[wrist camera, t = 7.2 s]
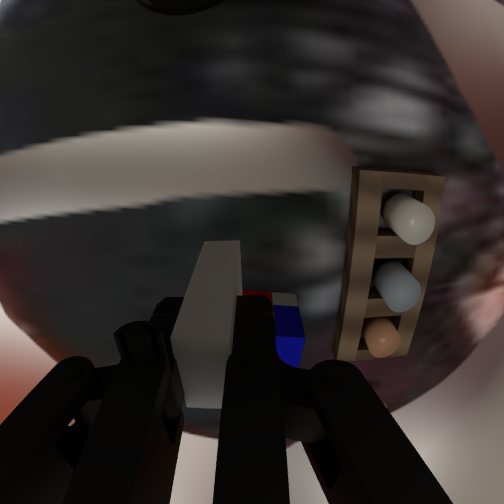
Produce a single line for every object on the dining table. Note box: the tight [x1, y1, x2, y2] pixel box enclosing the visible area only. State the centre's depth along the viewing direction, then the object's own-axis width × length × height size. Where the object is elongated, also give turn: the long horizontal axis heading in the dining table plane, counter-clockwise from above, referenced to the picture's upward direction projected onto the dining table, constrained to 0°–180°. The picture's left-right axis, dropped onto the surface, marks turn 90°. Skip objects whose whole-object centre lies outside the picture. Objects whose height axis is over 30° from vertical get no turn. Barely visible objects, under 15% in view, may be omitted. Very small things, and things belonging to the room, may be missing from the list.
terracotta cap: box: [361, 316, 401, 358], centre depth 44 cm, size 5×5×5 cm
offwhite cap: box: [383, 193, 435, 245], centre depth 35 cm, size 5×5×5 cm
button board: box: [332, 166, 445, 361], centre depth 42 cm, size 28×12×3 cm, turn 1°
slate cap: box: [374, 261, 421, 312], centre depth 38 cm, size 5×5×5 cm
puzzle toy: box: [242, 290, 305, 368], centre depth 42 cm, size 10×10×10 cm
